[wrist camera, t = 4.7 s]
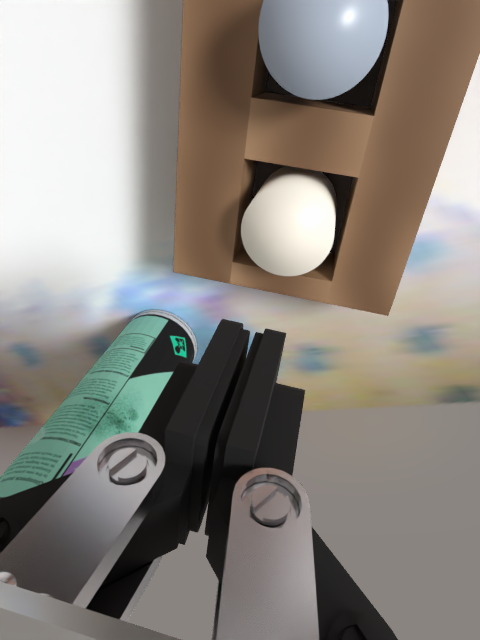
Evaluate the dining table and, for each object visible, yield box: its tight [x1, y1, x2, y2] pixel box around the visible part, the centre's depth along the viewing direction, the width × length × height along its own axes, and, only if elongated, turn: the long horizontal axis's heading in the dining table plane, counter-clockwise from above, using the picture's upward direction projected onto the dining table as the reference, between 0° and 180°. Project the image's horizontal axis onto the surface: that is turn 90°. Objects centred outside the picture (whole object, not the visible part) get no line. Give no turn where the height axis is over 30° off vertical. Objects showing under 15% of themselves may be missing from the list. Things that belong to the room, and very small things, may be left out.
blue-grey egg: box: [258, 0, 388, 100], centre depth 17 cm, size 4×4×5 cm
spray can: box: [0, 310, 197, 499], centre depth 24 cm, size 6×6×20 cm
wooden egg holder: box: [173, 0, 480, 316], centre depth 19 cm, size 12×24×4 cm, turn 173°
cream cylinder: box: [241, 166, 337, 276], centre depth 23 cm, size 4×4×5 cm
